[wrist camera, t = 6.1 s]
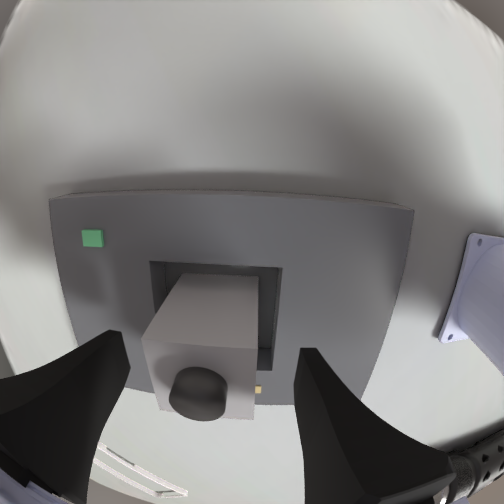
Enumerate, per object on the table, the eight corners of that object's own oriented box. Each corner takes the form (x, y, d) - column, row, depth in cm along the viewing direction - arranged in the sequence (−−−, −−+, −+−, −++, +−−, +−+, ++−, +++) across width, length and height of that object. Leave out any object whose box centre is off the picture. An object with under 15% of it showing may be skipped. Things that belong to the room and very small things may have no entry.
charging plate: (395, 203, 13) (416, 211, 11) (352, 380, 16) (361, 402, 14) (70, 193, 13) (46, 200, 11) (102, 361, 17) (89, 380, 14)
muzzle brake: (492, 442, 25) (508, 473, 16) (395, 479, 24) (409, 529, 15) (519, 410, 22) (540, 442, 13) (431, 447, 22) (454, 504, 12)
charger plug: (258, 276, 14) (257, 368, 7) (255, 338, 15) (253, 438, 9) (182, 272, 14) (130, 355, 8) (188, 334, 15) (154, 426, 9)
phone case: (75, 441, 23) (159, 491, 26) (72, 448, 22) (158, 498, 25) (95, 434, 21) (190, 489, 25) (92, 442, 20) (189, 496, 24)
